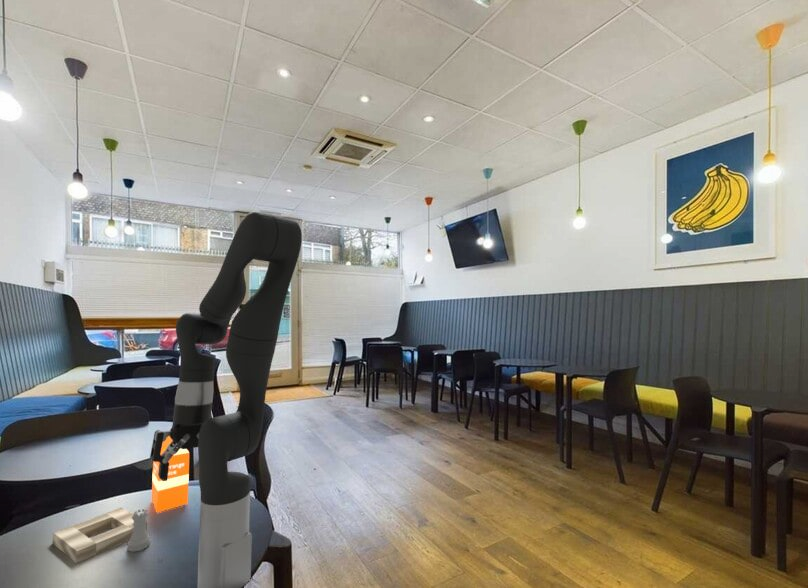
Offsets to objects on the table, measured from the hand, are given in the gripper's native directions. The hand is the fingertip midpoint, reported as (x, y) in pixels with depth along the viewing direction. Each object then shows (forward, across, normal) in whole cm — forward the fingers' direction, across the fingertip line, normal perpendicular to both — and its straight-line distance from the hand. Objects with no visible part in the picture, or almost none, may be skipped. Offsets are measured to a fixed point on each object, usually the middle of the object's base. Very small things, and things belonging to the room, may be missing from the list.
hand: (185, 475), depth 84 cm
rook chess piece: (+19, -4, +14) cm, 23 cm away
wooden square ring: (+19, -10, +25) cm, 32 cm away
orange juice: (+18, +7, +32) cm, 38 cm away
